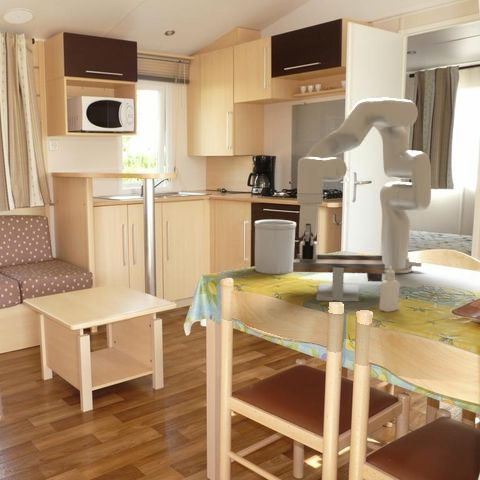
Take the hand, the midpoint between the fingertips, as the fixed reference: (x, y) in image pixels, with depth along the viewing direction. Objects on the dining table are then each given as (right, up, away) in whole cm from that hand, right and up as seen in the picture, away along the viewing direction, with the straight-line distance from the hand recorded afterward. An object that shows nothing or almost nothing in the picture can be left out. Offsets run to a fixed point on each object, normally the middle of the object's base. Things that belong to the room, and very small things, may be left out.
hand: (308, 255), depth 176 cm
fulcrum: (+9, -11, 0) cm, 14 cm away
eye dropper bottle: (+20, -14, -17) cm, 30 cm away
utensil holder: (-8, -6, +34) cm, 35 cm away
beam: (+9, -6, -1) cm, 11 cm away
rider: (0, -2, +1) cm, 2 cm away
